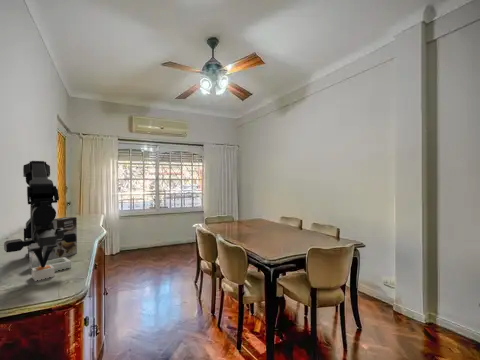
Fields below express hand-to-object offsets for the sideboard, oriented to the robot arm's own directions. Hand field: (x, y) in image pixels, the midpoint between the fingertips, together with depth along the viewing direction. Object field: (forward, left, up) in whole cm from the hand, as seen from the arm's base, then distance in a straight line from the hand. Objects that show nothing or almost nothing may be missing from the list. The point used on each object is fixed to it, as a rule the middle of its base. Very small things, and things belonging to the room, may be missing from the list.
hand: (43, 266), depth 87 cm
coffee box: (-23, +11, -4) cm, 26 cm away
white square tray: (-7, +5, -3) cm, 9 cm away
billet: (-13, +1, -3) cm, 14 cm away
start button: (0, 0, -2) cm, 2 cm away
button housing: (0, 0, -3) cm, 3 cm away
